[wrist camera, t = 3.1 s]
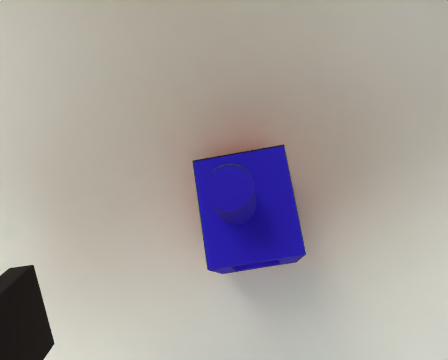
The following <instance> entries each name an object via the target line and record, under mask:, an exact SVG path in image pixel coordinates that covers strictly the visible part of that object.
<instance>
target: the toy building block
mask: <svg viewBox="0 0 448 360" xmlns="http://www.w3.org/2000/svg"><path fill="white" fill-rule="evenodd" d="M193 168H194V175H195V182H196V189H197V197H198V204H199V211H200V218H201V226H202V233H203V240H204V247H205V255H206V262H207V269H208V270H210V271H213V272H217V273H221V274H225V273H232V272H238V271H244V270H250V269H257V268H263V267H269V266H275V265H282V264H288V263H294V262H297V261H298V260H299V259H301V258H302V257H303V256H304V255H306V252H305V247H304V242H303V237H302V232H301V227H300V222H299V217H298V212H297V207H296V202H295V197H294V192H293V187H292V182H291V177H290V172H289V167H288V162H287V157H286V152H285V147H284V145H279V146H274V147H268V148H262V149H257V150H251V151H245V152H240V153H234V154H228V155H223V156H217V157H211V158H206V159H200V160H194V161H193Z"/></svg>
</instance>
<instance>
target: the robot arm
mask: <svg viewBox="0 0 448 360" xmlns="http://www.w3.org/2000/svg"><path fill="white" fill-rule="evenodd" d="M53 345H54V340H53V336H52V333H51V329H50V325H49V321H48V318H47V314H46V310H45V306H44V303H43V299H42V295H41V291H40V288H39V284H38V280H37V276H36V273H35V269H34V265H29V266H22V267H15V268H9V269H8V270H7V271H6V272H4V273H3V274H2V275H1V276H0V360H43V359H44V358H45V357H46V355H47V354H48V352H49V351H50V349H51V348H52V346H53Z"/></svg>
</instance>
